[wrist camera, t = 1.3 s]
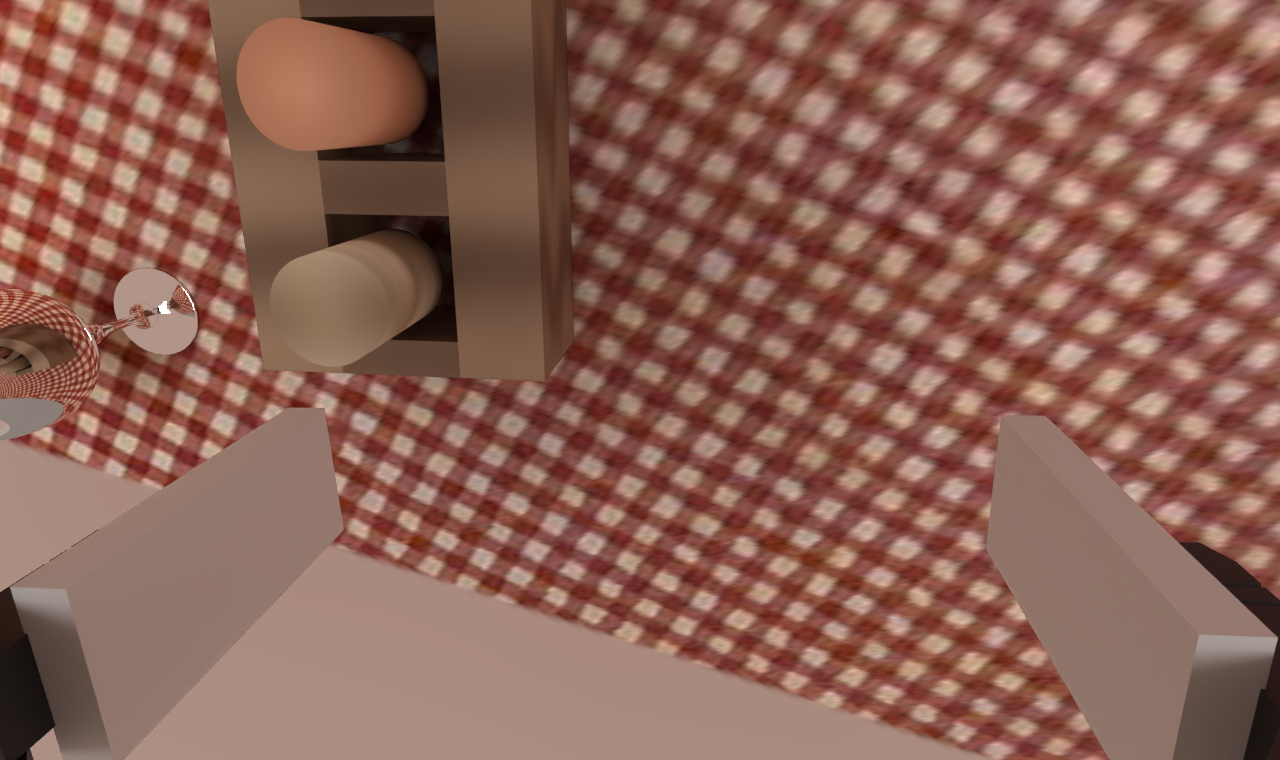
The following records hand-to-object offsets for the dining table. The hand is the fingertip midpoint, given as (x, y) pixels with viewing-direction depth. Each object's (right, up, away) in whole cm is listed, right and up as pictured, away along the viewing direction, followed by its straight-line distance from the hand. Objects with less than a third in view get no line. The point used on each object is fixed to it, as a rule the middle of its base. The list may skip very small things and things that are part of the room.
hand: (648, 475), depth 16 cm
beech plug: (-10, +6, +16) cm, 20 cm away
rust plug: (-10, +13, +14) cm, 21 cm away
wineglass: (-24, +5, +25) cm, 35 cm away
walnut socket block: (-9, +14, +19) cm, 26 cm away
